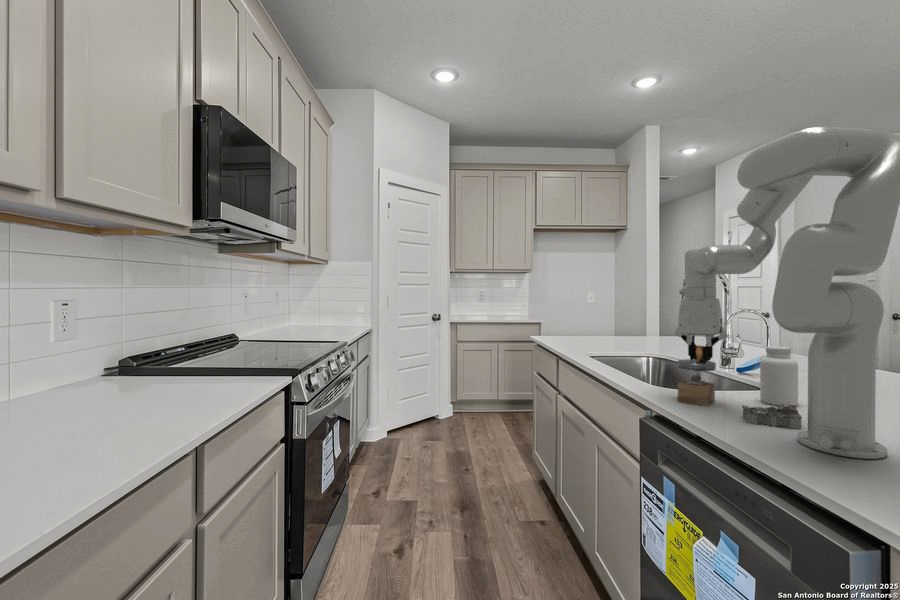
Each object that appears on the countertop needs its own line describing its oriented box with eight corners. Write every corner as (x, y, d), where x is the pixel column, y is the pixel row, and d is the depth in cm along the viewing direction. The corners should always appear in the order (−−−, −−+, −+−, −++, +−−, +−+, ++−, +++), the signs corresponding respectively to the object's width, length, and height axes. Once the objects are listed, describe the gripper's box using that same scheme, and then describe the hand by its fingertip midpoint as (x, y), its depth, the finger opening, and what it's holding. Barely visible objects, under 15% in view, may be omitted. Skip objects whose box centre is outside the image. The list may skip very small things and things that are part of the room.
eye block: (706, 406, 110) (706, 385, 110) (677, 401, 115) (677, 381, 115) (714, 401, 115) (714, 381, 115) (686, 396, 120) (686, 377, 120)
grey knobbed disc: (710, 384, 108) (710, 350, 108) (672, 379, 115) (672, 347, 115) (720, 379, 115) (720, 346, 115) (684, 374, 122) (684, 344, 122)
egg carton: (798, 422, 97) (798, 404, 97) (803, 431, 91) (803, 412, 91) (741, 415, 103) (741, 398, 103) (743, 423, 96) (743, 405, 96)
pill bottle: (753, 401, 114) (753, 346, 114) (770, 398, 118) (771, 344, 117) (787, 408, 107) (787, 349, 107) (804, 404, 110) (804, 347, 110)
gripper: (664, 294, 120) (664, 358, 120) (731, 293, 108) (731, 364, 109) (673, 293, 125) (673, 355, 126) (738, 293, 113) (738, 361, 114)
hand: (700, 359), depth 117 cm, fingers closed on grey knobbed disc, 2 cm apart
